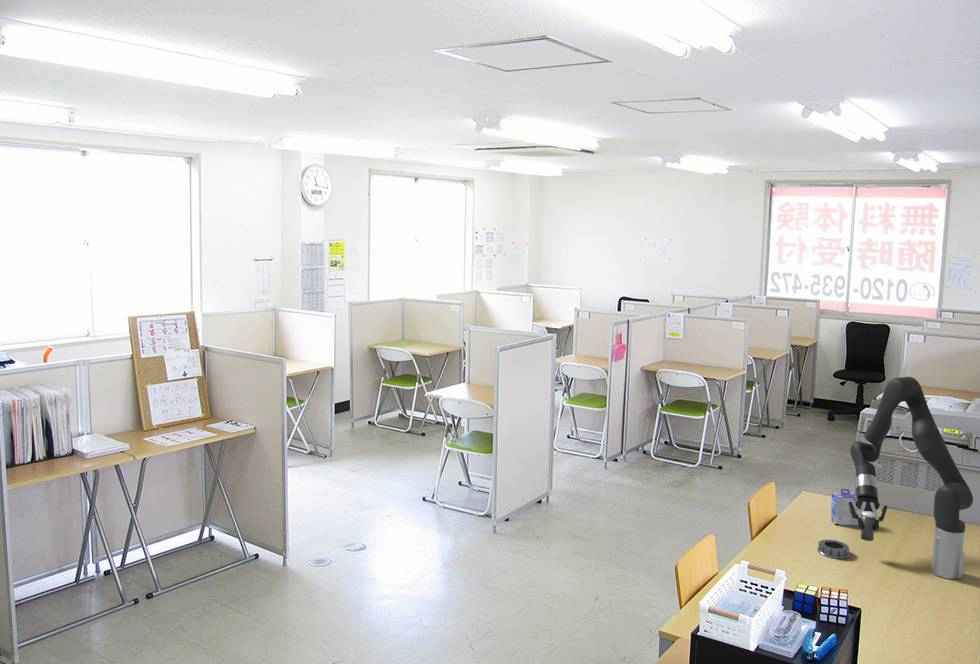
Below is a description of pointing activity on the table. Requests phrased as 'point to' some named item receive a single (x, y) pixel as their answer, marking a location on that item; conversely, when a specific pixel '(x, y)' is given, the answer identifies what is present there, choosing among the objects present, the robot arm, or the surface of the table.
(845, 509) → the ink cartridge box
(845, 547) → the dark grey ridged ring
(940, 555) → the robot arm
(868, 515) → the tube
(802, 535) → the table surface
